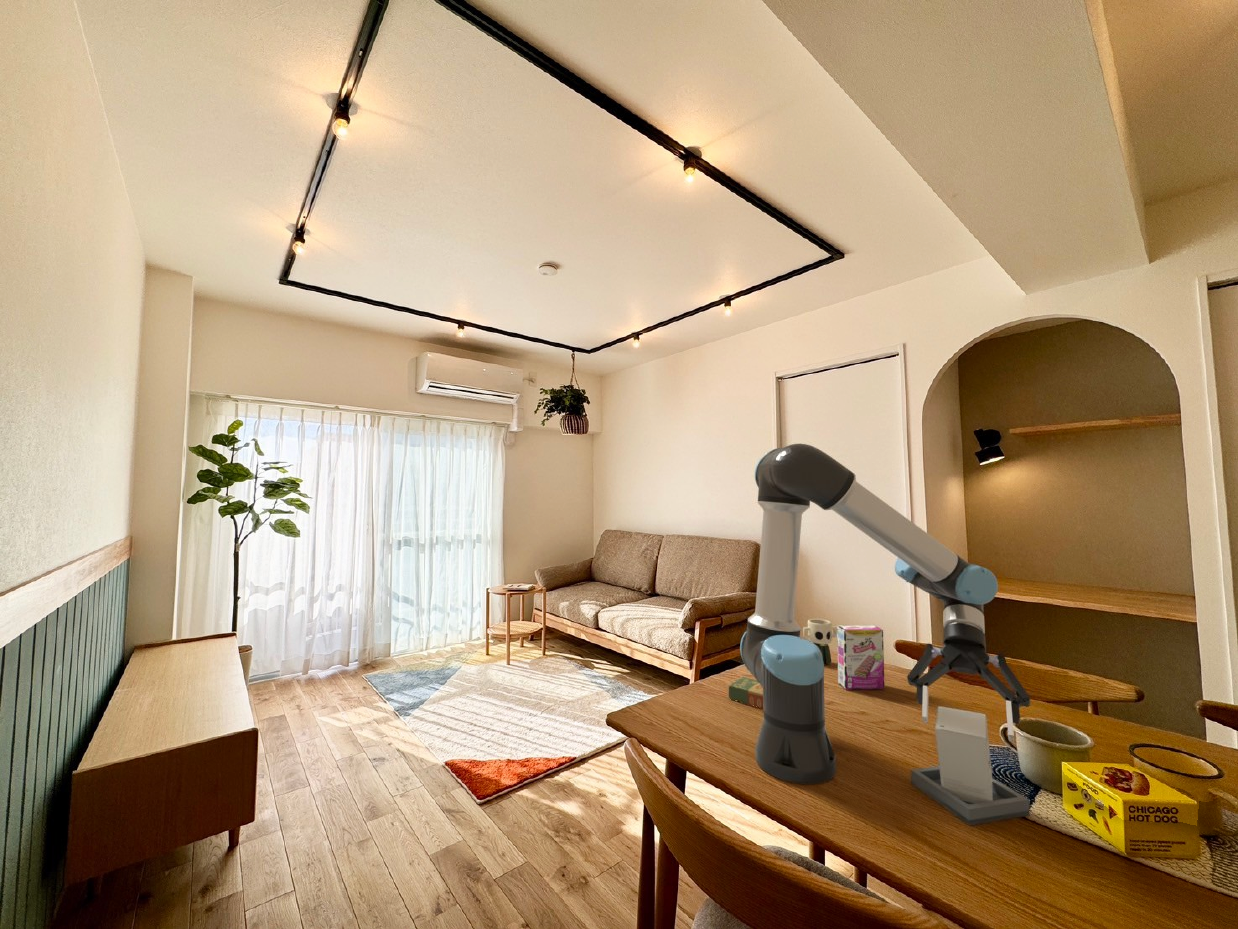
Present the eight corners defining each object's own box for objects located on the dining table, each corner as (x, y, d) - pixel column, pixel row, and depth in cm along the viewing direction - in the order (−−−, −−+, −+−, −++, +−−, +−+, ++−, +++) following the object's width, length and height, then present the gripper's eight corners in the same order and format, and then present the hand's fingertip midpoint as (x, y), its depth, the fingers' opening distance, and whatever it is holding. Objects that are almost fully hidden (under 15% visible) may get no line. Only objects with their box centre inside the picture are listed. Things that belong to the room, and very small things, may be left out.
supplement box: (994, 810, 82) (986, 738, 81) (941, 795, 87) (933, 727, 86) (994, 780, 88) (986, 713, 87) (944, 768, 92) (936, 704, 91)
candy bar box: (846, 690, 136) (844, 629, 137) (837, 684, 141) (835, 625, 142) (886, 690, 136) (883, 629, 137) (876, 683, 141) (873, 624, 142)
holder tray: (969, 825, 80) (968, 809, 80) (911, 783, 92) (910, 769, 92) (1029, 815, 82) (1029, 799, 82) (965, 775, 94) (964, 762, 94)
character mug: (808, 667, 155) (807, 624, 156) (799, 659, 162) (798, 619, 163) (843, 666, 155) (841, 623, 156) (832, 658, 162) (830, 618, 163)
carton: (787, 718, 120) (786, 700, 120) (727, 700, 130) (727, 684, 131) (800, 707, 126) (800, 689, 126) (743, 691, 137) (742, 675, 137)
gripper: (1037, 650, 103) (1051, 756, 90) (900, 632, 118) (895, 721, 105) (1038, 630, 99) (1052, 737, 86) (896, 614, 114) (890, 704, 101)
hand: (966, 729), depth 95 cm, fingers open, 13 cm apart
